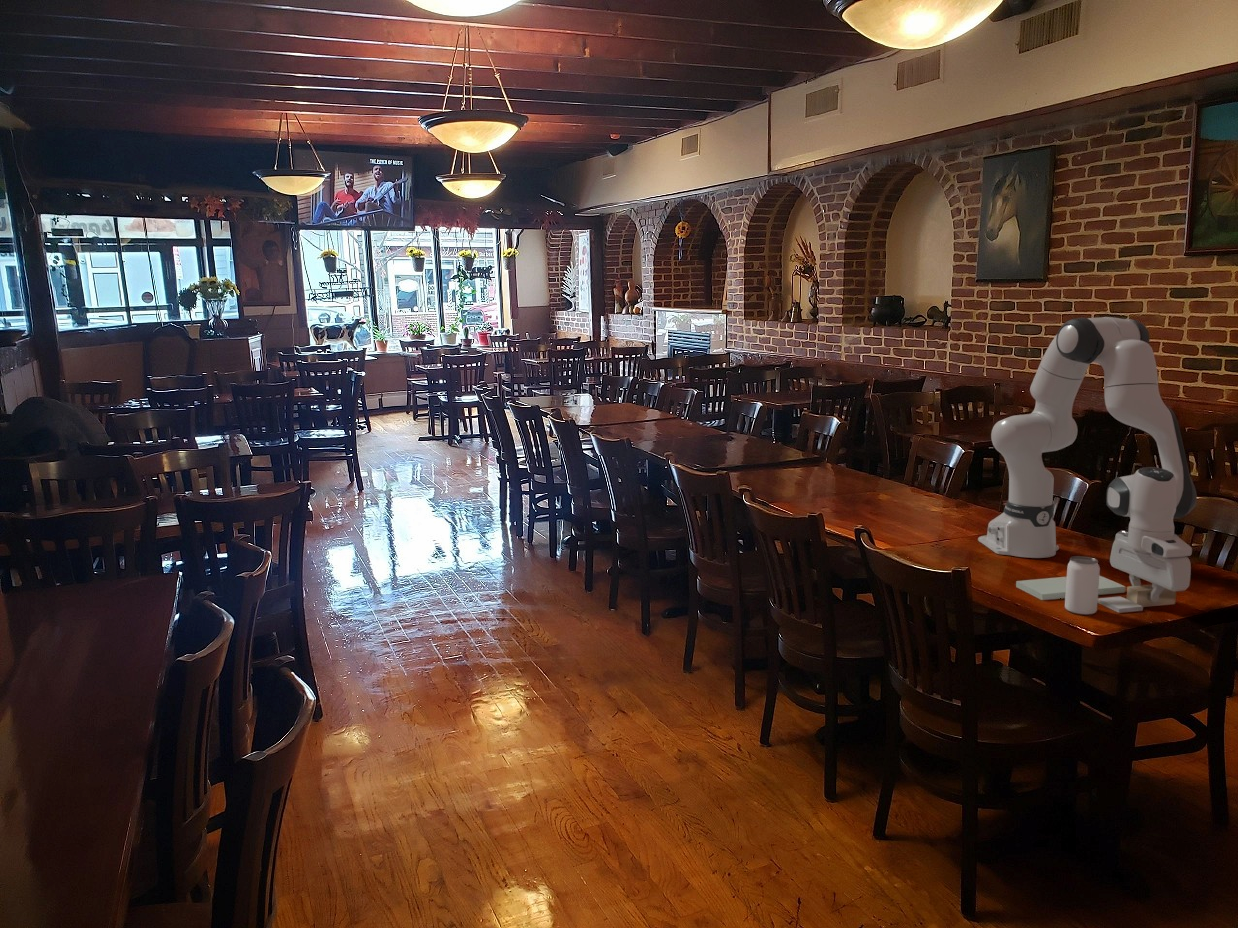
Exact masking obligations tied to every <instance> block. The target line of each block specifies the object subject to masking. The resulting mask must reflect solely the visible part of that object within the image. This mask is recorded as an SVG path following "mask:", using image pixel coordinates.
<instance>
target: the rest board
mask: <svg viewBox="0 0 1238 928" xmlns="http://www.w3.org/2000/svg"><path fill="white" fill-rule="evenodd" d="M1066 580H1067V576H1060V577H1049V578H1037V579H1025V580H1024V579H1023V580H1016V581H1015V588H1017V589H1019V590H1021V591H1023V592H1025V593H1027V594H1028V595H1031V596H1033V597H1035V598H1037V599H1039V600H1041V601H1049V600H1058V599H1060V598H1061V599H1065V595H1066ZM1124 593H1126V586H1125V585H1122V584H1121V583H1118V582H1116V581H1114V580H1111V579H1109V578H1107V577H1104V576H1102V575H1100V574H1099V589H1098V596H1101V595H1112V594H1124ZM1061 599H1060V600H1061Z"/></svg>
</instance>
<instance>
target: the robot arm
mask: <svg viewBox="0 0 1238 928" xmlns="http://www.w3.org/2000/svg"><path fill="white" fill-rule="evenodd" d="M1150 337H1151V336H1150V331H1149V329H1148V327H1147V326H1146V324H1144V323H1142V322H1141V321H1139V320H1136V319H1131V318H1119V317H1111V316H1103V317H1088V318H1087V317H1078V318H1072V319H1069V320H1067V321H1065V322H1064V323H1063V324H1062V325H1061V326H1060V328H1059V329H1058V332H1057V333H1056V334H1055V336H1054V338H1053V339H1052V341H1051V342H1050V344H1049V345H1048V347H1047V349H1046V350H1045V353H1044V354H1043V356H1042V358H1041V360H1040V363H1039V365H1038V368H1037V370H1036V373H1035V375H1034V377H1033V379H1032V382H1031V384H1030V387H1029V392H1030V395H1031V397H1032V398H1033V399H1034V400H1035V406H1034V409H1033V410H1032V412H1031V413H1027V414H1017V415H1011V416H1009V417H1006V418H1003V419H1001V420H998V421H997V422H996V423H995V424H994V425H993V427H992V429H991V434H990V439H991V443H992V446H993V447H994V449H995V450H996V451H997V452H998V453H1000V454H1001V456H1002V457H1003V459H1004V461H1005V463H1006V467H1007V470H1008V479H1009V480H1008V499H1007V500H1002V502H1003V504H1002V505H1003V506H1004V509H1003V512H1002V513H1001V514H999V515H998V516H996V517H995V518H993V519H991V520H990V521H989V522H988V524H987V525H988V526H987V534H985V535H981V536H979V537H978V538H977V541H978V542H979V543H981V544H982V545H984V546H985V547H986V548H987V549H989V550H991V551H992V552H994V553H995V554H997V555H1003V556H1004V555H1006V556H1014V557H1019V558H1027V559H1028V558H1031V559H1044V558H1051V557H1054V556H1055V555H1056V554H1057V551H1058V550H1059V549H1060V547H1059V545H1058V544H1057V538H1056V537H1057V534H1056V521H1055V520H1054V519H1053V517H1054V515H1055V514H1054V513H1055V505H1054V503H1053V501H1054V500H1053V499H1054V498H1053V497H1054V485H1055V483H1054V482H1055V481H1054V480H1055V478H1054V474H1053V473H1052V472H1051V471H1050V470H1049V469H1047V468H1046V467H1045V465H1044V462H1043V457H1042V455H1043V453H1050V452H1056V451H1057V452H1058V451H1059V450H1062V449H1065V448H1066V447H1069V446H1070V445H1073V443H1074V442H1075V441H1076V439H1077V436H1078V431H1079V430H1078V425H1077V423H1076V421H1075V419H1074V418H1073V406H1074V402H1075V399H1076V396H1077V394H1078V392H1079V389H1080V387H1081V385H1082V382H1083V380H1084V378H1085V376H1086V374H1087V371H1088V368H1089V366H1090V365H1091V364H1093V363H1097V364H1098V365H1100V367H1102V369H1103V376H1104V377H1103V380H1104V381H1103V382H1104V383H1103V387H1104V392H1103V393H1104V405H1105V408H1106V411H1107V412H1108V413H1109V414H1110V415H1111V416H1112V417H1113V418H1114V419H1115V420H1117V421H1118V422H1120V423H1121V424H1124V425H1126V426H1130V427H1132V428H1135V429H1138V430H1141V431H1143V432H1145V433H1147V434H1148V435H1150V436H1151V437H1152V438H1153V439H1154V441H1155V442H1156V446H1157V449H1158V454H1159V460H1160V463H1161V468H1160V467H1154V466H1146V467H1141V468H1139V469H1137V470H1136V471H1135V473H1134V474H1129V475H1124V476H1120V477H1119V476H1117V477H1115V478H1114V479H1112V481H1111V482H1110V483H1109V485H1108V486H1107V488H1106V493H1105V502H1106V506H1107V507H1108V508H1109V510H1110V511H1111V512H1113V513H1114V514H1115V515H1117V516H1122V517H1129V519H1130V521H1129V523H1128V531H1127V530H1124V529H1123V530H1120V531H1118V532H1117V533H1116V534H1115V537H1114V541H1113V542H1112V546H1111V551H1110V556H1109V563H1110V565H1111V567H1113V568H1114V569H1117V570H1119V571H1122V572H1125V573H1127V574H1129V576H1128V578H1129V579H1128V580H1129V582H1130V584H1131V586H1140V585H1142V583H1141V579H1142V580H1144V581H1146V582H1149V583H1151V584H1152V587H1153V590H1152V592H1150V593H1148V597H1147V599H1148V600H1150V601H1152V602H1157V601H1159V594H1160V593H1161V592H1162V591H1163V590H1164V588H1166V589H1168V590H1171V591H1176V592H1184V591H1186V590H1187V589H1188V588H1189V587H1190V584H1191V583H1190V582H1191V575H1192V573H1191V571H1192V570H1191V569H1192V567H1191V561H1190V559H1189V557H1190V556H1191V555H1192V553H1193V548H1192V547H1191V545H1189V543H1188V544H1187V543H1186V542H1185V541H1184V540H1183V539H1181V538H1180V537H1179V535H1177V534H1176V533H1175V524H1174V519H1182V518H1184V517H1185V516H1187V515H1188V514H1189V513H1190V512H1191V511H1192V510H1193V509H1194V508H1195V507H1196V505H1197V501H1198V495H1197V490H1196V487H1195V484H1194V482H1193V479H1192V477H1191V474H1190V469H1189V466H1188V462H1187V457H1186V456H1187V455H1186V452H1185V448H1184V444H1183V443H1184V442H1183V439H1182V434H1181V430H1180V425H1179V422H1178V420H1177V419H1178V418H1177V417H1176V414H1175V412H1174V410H1172V409H1171V408H1169V407H1168V406H1166V404H1165V403H1164V401H1163V399H1162V397H1161V394H1160V389H1159V378H1158V368H1157V363H1156V358H1155V354H1154V350H1153V347H1152V346H1151V345H1150V340H1151V339H1150Z"/></svg>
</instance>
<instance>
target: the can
mask: <svg viewBox="0 0 1238 928" xmlns="http://www.w3.org/2000/svg"><path fill="white" fill-rule="evenodd" d="M1098 563H1099V560H1098V559H1096V558H1093V557H1090V556H1084V555H1083V556H1080V555H1077V556H1075V555H1074V556H1071V557H1069V562H1068V563H1067V569H1066V577H1067V580H1066V595H1065V598H1064V609H1065V610H1066V611H1067V612H1069V613H1072V614H1075V615H1080V616H1081V615H1082V616H1089V615H1094V614H1095V613H1097V611H1098V603H1097V602H1098V598H1099V595H1098V589H1099V575H1100V572H1101V567H1100V564H1098Z"/></svg>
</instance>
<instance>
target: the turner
mask: <svg viewBox="0 0 1238 928" xmlns="http://www.w3.org/2000/svg"><path fill="white" fill-rule="evenodd" d="M1126 588H1127V589H1126V598H1125V597H1122V596H1121V595H1119V596H1111V597H1110V596H1109V597H1100V598H1099V597H1098V602H1097V604H1099V605H1102V606H1103V607H1105V608H1108V609H1110V610H1112V611H1113V612H1116V613H1118V614H1122V613H1132V612H1133V613H1134V612H1143V610H1144V608H1146V607H1147V608H1148V607H1158V606H1159V607H1160V606H1169V605H1176V598H1177V591H1171V590H1168V589H1166V588H1164V590H1163V591H1162V592H1161V593H1160V594H1159V601H1157V602H1152V601H1150V600H1148V599H1147V597H1148V593H1150V592H1152V590H1153V587H1152V583H1151V584H1141V585H1140V586H1132V585H1130V586H1127V587H1126Z"/></svg>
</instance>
